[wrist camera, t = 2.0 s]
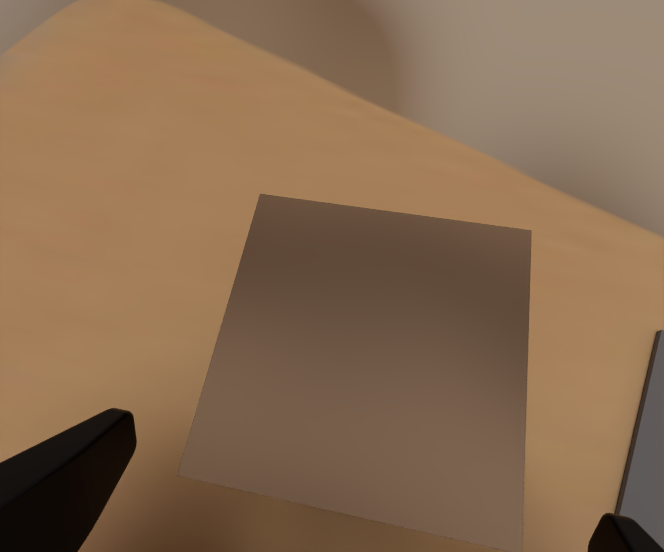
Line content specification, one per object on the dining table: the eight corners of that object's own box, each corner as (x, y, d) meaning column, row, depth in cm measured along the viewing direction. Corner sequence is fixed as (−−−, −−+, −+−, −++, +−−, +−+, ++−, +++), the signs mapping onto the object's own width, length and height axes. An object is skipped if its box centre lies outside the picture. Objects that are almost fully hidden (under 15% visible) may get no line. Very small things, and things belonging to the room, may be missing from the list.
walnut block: (420, 487, 17) (533, 557, 6) (293, 460, 18) (176, 475, 6) (434, 361, 19) (540, 231, 8) (318, 341, 19) (259, 193, 8)
